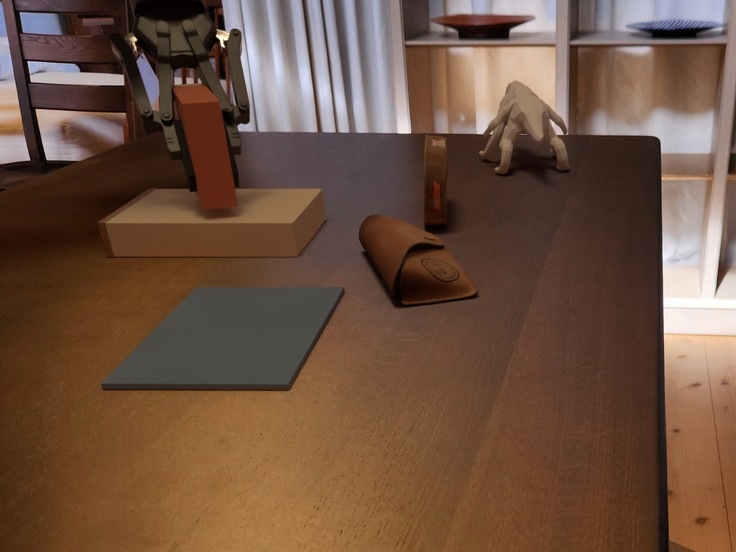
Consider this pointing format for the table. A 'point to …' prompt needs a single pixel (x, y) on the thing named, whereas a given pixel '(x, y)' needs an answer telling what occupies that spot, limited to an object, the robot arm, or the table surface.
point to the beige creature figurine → (524, 125)
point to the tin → (435, 180)
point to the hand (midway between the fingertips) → (213, 181)
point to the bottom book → (214, 224)
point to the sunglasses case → (413, 262)
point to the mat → (230, 340)
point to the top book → (206, 144)
